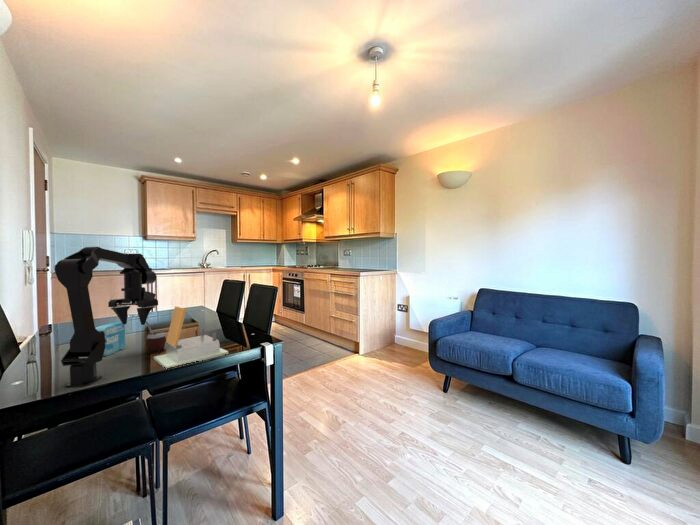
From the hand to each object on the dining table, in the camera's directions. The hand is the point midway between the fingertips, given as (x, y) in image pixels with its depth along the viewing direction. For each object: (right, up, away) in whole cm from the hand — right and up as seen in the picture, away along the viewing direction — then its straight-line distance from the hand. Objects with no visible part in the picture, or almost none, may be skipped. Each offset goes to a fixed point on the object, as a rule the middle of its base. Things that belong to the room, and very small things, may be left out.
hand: (133, 324), depth 116 cm
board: (+23, -13, +1) cm, 26 cm away
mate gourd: (+3, -14, +8) cm, 16 cm away
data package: (-17, -14, +10) cm, 24 cm away
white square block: (+23, -12, +1) cm, 26 cm away
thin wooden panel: (+19, 0, -3) cm, 19 cm away
